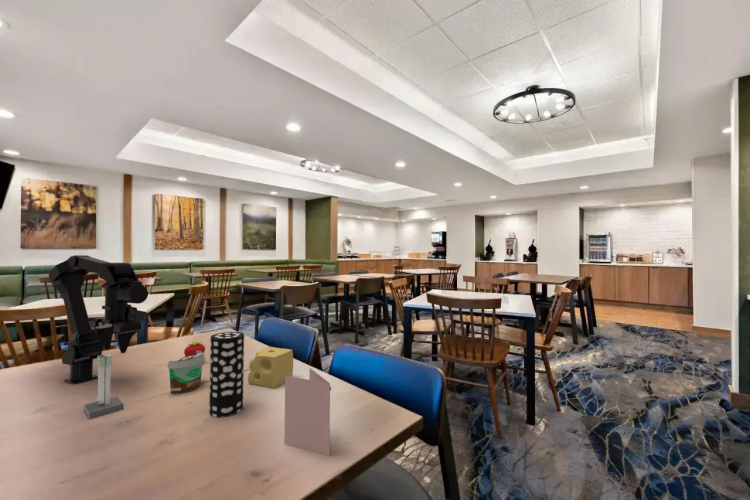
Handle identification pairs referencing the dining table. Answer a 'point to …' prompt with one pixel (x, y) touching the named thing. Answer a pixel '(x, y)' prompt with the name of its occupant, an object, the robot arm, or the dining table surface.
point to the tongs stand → (109, 403)
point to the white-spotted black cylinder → (226, 374)
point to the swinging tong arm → (100, 378)
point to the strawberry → (194, 348)
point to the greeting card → (307, 413)
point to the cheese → (270, 367)
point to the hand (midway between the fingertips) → (115, 351)
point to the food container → (186, 373)
